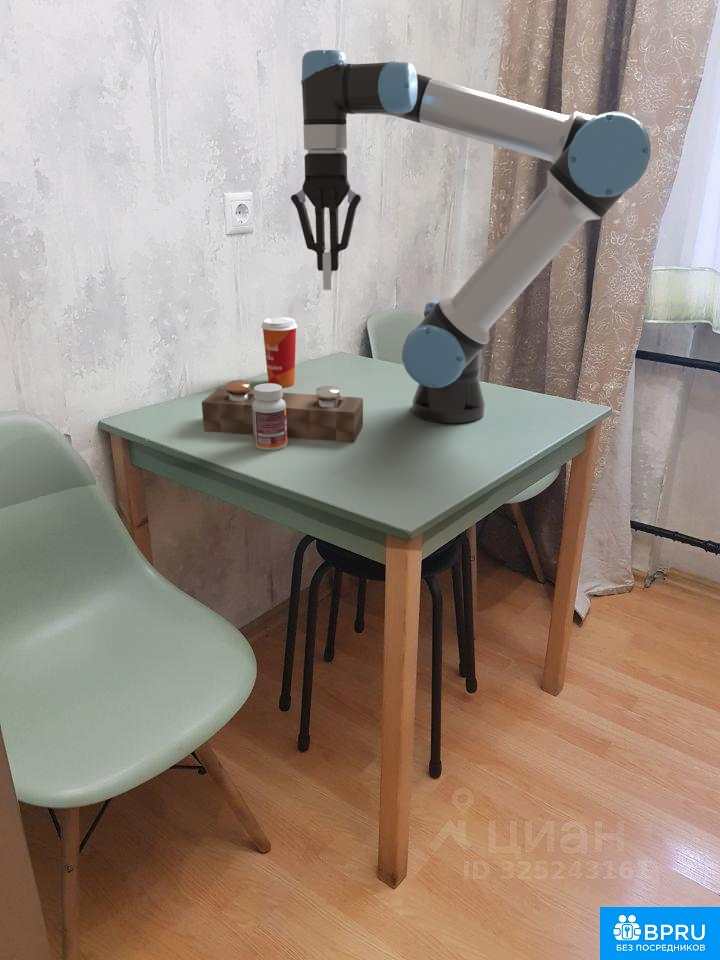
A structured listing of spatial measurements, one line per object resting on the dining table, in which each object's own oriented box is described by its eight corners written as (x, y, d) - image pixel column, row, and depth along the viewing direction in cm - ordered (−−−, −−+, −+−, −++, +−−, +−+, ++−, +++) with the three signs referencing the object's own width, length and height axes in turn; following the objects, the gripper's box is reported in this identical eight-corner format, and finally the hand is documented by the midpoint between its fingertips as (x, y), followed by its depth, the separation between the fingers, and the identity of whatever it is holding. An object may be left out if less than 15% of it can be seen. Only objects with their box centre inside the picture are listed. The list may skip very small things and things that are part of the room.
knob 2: (342, 420, 145) (342, 386, 142) (337, 428, 141) (337, 393, 138) (319, 419, 146) (319, 385, 143) (314, 427, 142) (313, 392, 139)
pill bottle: (293, 447, 137) (291, 388, 132) (263, 454, 134) (260, 394, 129) (277, 437, 142) (275, 380, 137) (248, 443, 139) (245, 385, 134)
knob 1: (255, 414, 148) (253, 381, 145) (247, 422, 144) (245, 387, 141) (233, 413, 149) (231, 379, 146) (225, 420, 145) (222, 386, 142)
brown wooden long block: (362, 426, 147) (363, 397, 145) (354, 442, 139) (354, 412, 137) (220, 416, 152) (218, 388, 150) (204, 431, 144) (201, 402, 142)
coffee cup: (259, 381, 175) (256, 318, 169) (292, 377, 178) (290, 315, 172) (270, 391, 168) (267, 325, 162) (304, 387, 171) (302, 322, 165)
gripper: (364, 151, 132) (364, 285, 142) (293, 152, 134) (298, 284, 143) (359, 152, 126) (360, 292, 135) (284, 152, 127) (290, 291, 137)
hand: (328, 288), depth 139 cm, fingers closed
